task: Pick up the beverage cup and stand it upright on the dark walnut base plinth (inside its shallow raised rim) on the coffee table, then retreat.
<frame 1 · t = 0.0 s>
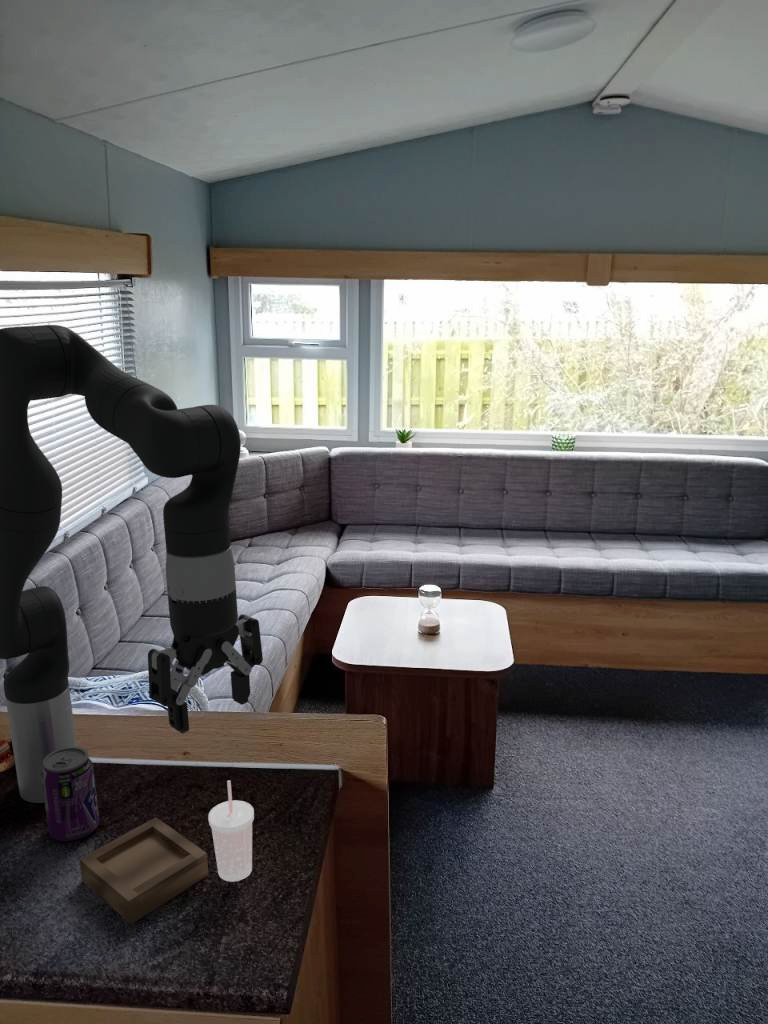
hand: (211, 715, 99), 29 cm above the counter, fingers open, 8 cm apart
base plinth: (145, 878, 116), on the counter
beverage can: (75, 830, 126), on the counter
beverage cup: (235, 871, 117), on the counter
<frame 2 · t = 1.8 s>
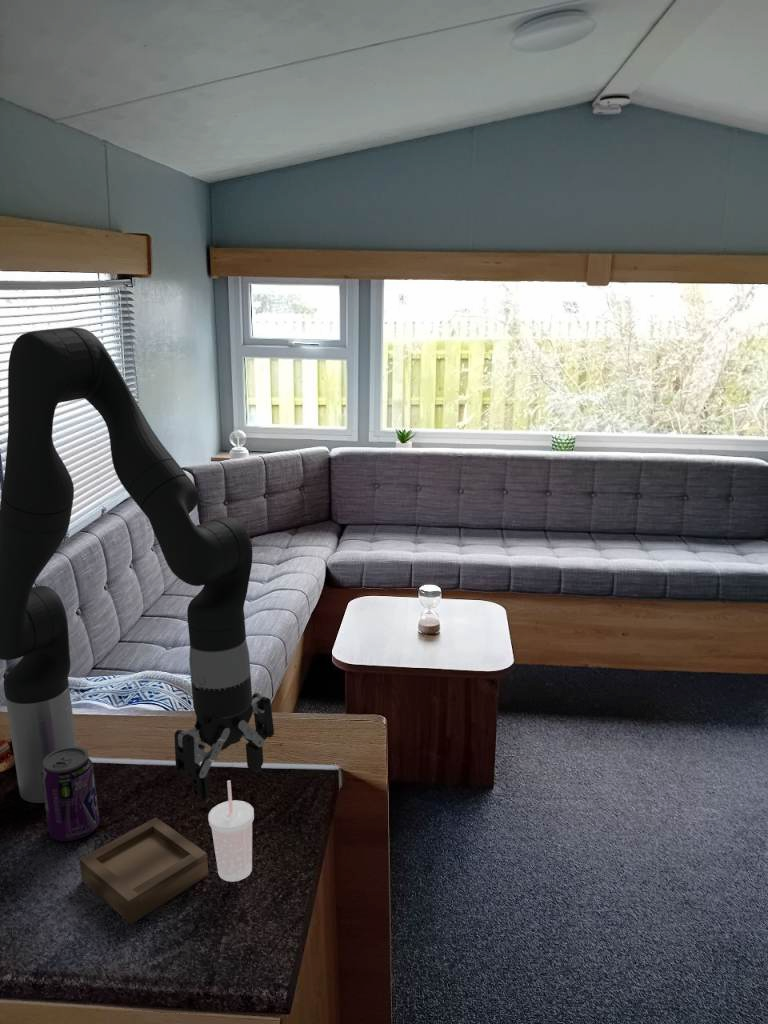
hand: (229, 783, 113), 14 cm above the counter, fingers open, 8 cm apart
nothing on the counter moved.
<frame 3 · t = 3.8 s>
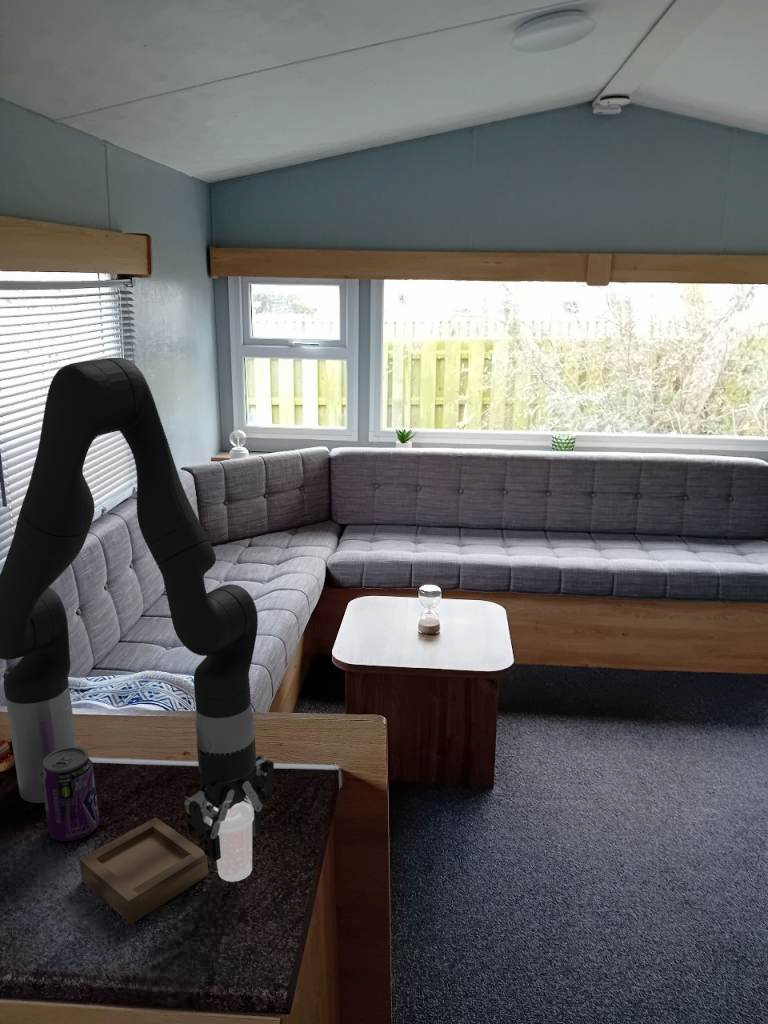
hand: (233, 844, 116), 4 cm above the counter, fingers closed on beverage cup, 6 cm apart
beverage cup: (235, 871, 117), on the counter, touching gripper
everything else where it was.
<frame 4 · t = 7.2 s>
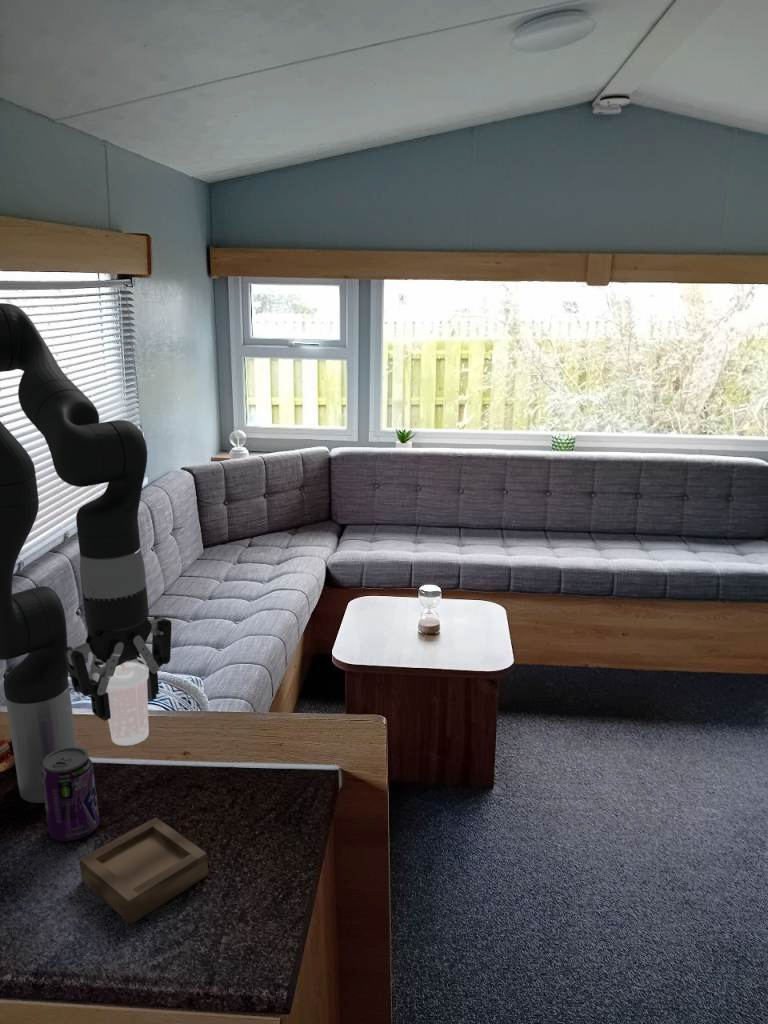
hand: (127, 707, 109), 26 cm above the counter, fingers closed on beverage cup, 6 cm apart
beverage cup: (130, 737, 110), point 21 cm above the counter, touching gripper
everything else where it was.
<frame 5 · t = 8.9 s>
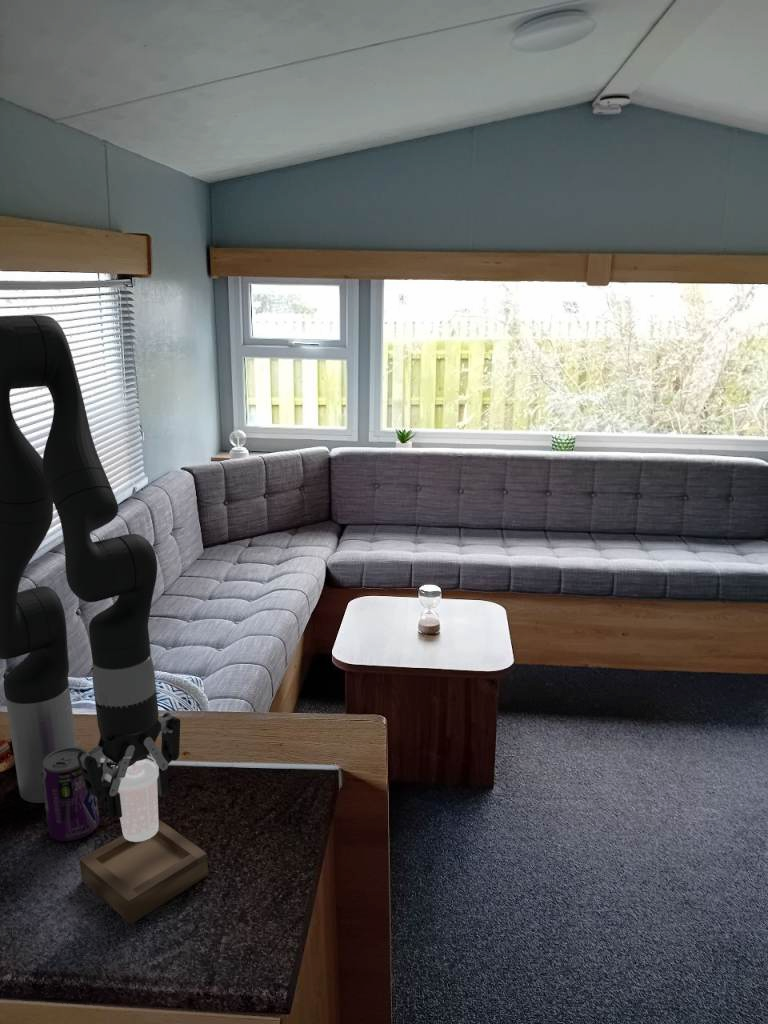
hand: (137, 803, 112), 12 cm above the counter, fingers closed on beverage cup, 6 cm apart
beverage cup: (141, 832, 114), point 7 cm above the counter, touching gripper
everything else where it was.
when the fingers open (7 cm above the counter, at t = 10.7 s): beverage cup stays where it is, resting on base plinth.
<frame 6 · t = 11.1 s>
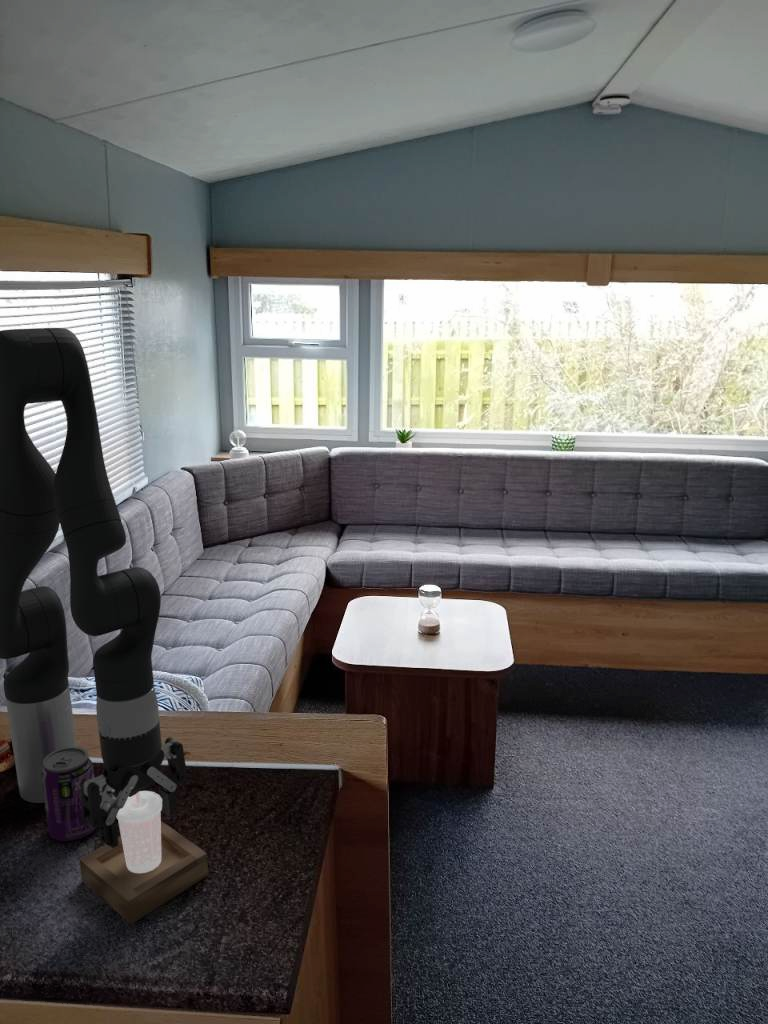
hand: (140, 828, 113), 8 cm above the counter, fingers open, 8 cm apart
beverage cup: (144, 863, 115), point 2 cm above the counter, touching base plinth
everything else where it was.
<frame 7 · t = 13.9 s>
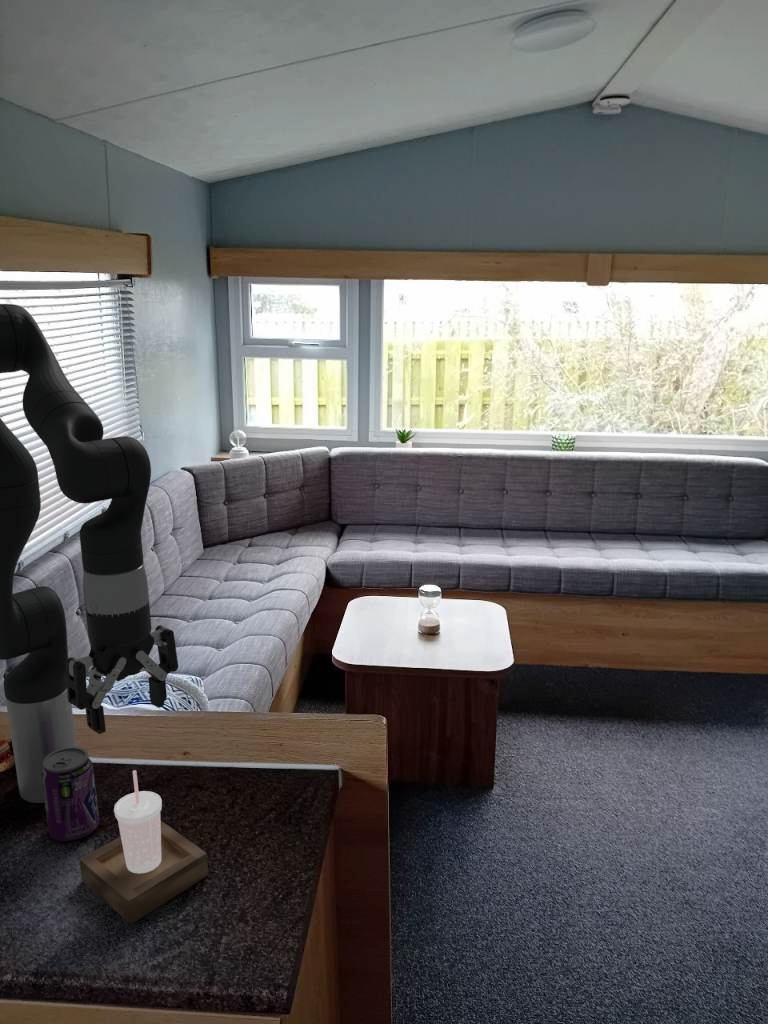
hand: (128, 717, 109), 24 cm above the counter, fingers open, 8 cm apart
nothing on the counter moved.
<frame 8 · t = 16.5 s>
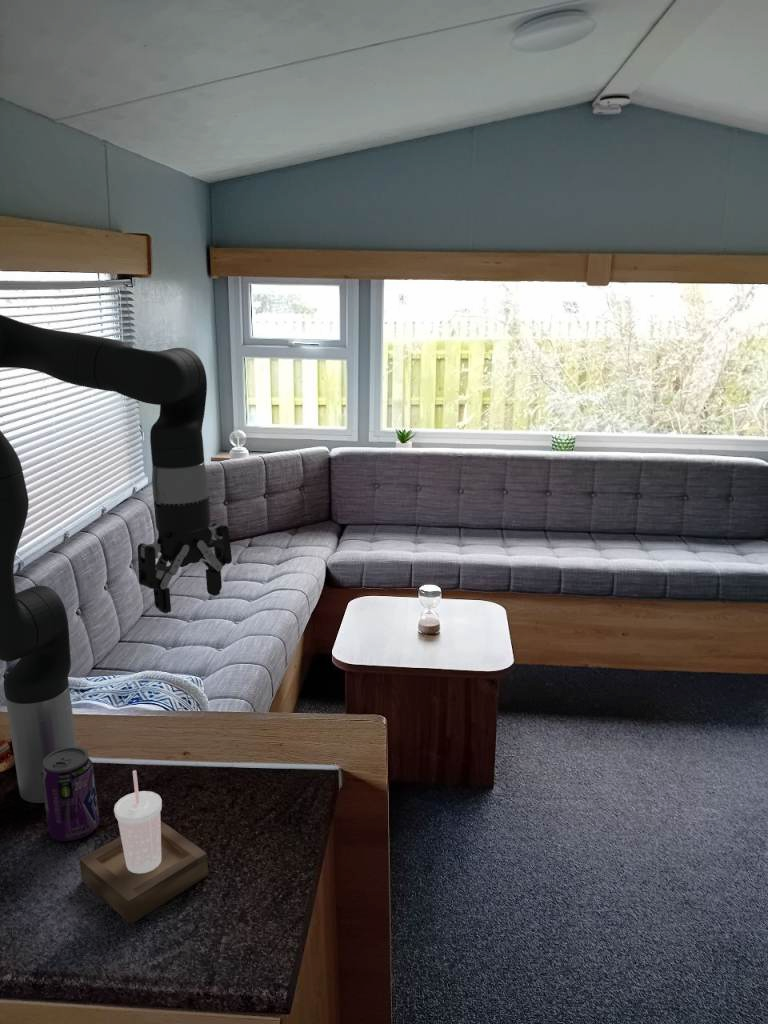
hand: (189, 602, 123), 33 cm above the counter, fingers open, 8 cm apart
nothing on the counter moved.
at the end: beverage cup inside the target area on the base plinth (0.1 cm from its centre), point 2.3 cm above the base plinth's base; beverage cup tilted 0°; the gripper is holding nothing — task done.
